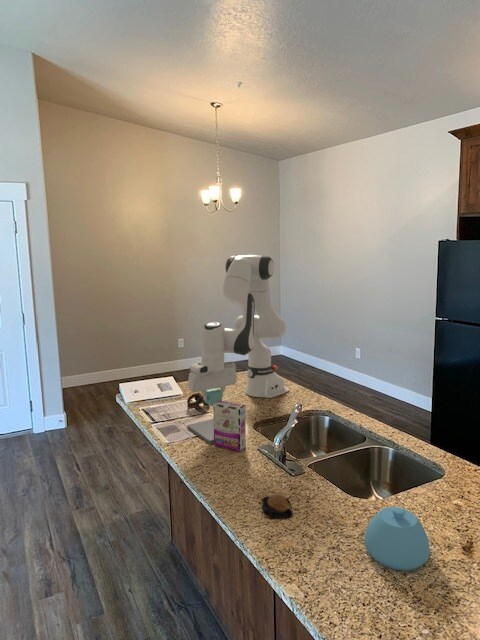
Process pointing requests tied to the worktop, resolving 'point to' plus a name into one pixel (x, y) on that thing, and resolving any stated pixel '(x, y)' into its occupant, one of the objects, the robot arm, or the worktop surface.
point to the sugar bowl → (397, 539)
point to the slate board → (204, 430)
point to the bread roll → (276, 507)
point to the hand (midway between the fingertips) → (213, 398)
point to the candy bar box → (229, 425)
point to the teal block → (213, 396)
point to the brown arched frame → (198, 401)
